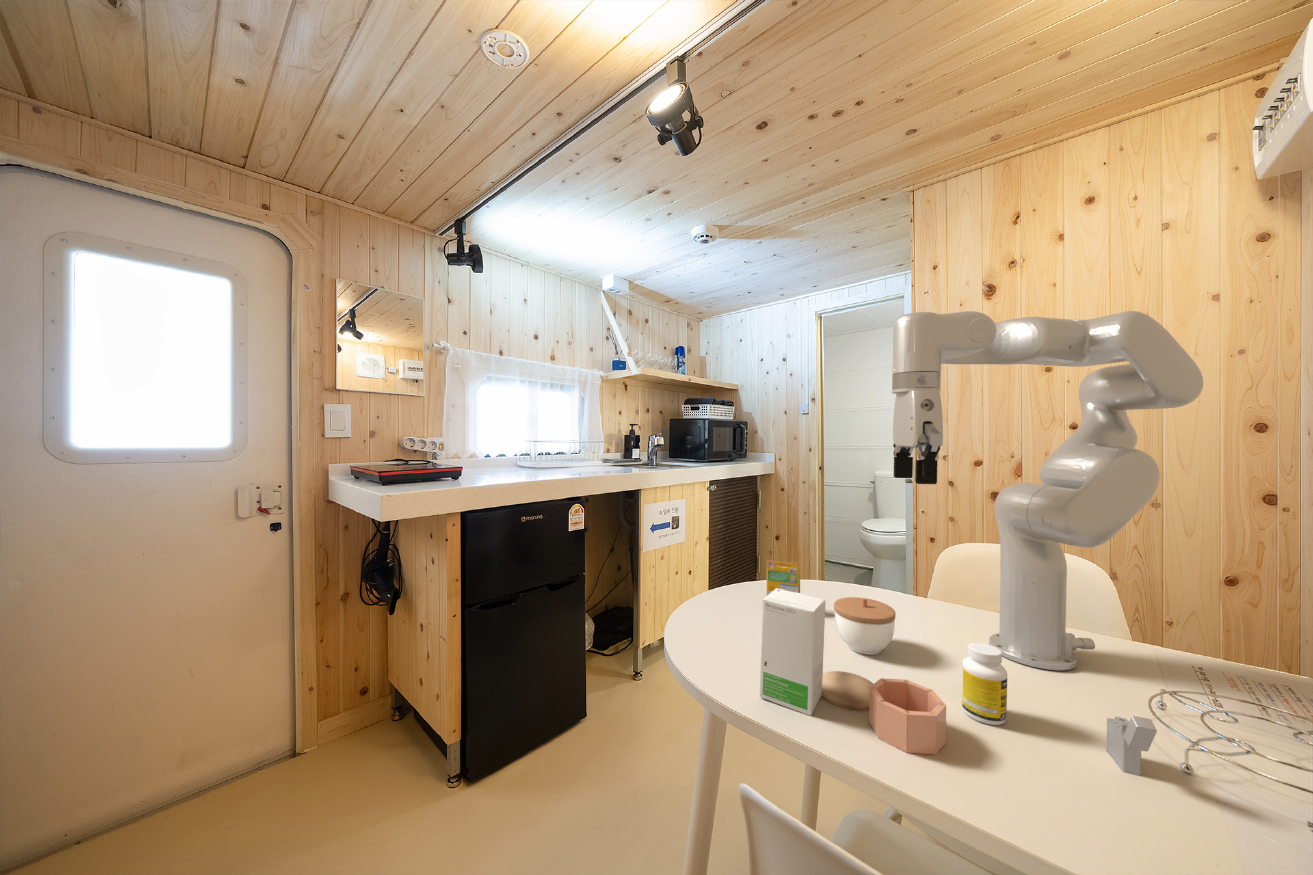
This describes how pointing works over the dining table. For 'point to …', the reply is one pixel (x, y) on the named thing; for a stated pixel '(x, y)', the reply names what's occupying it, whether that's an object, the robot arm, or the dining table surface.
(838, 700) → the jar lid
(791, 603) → the skincare box
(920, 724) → the terracotta octagonal planter pot
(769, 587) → the crayon box
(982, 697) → the supplement bottle
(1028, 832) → the dining table surface
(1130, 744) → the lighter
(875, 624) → the lidded jar
